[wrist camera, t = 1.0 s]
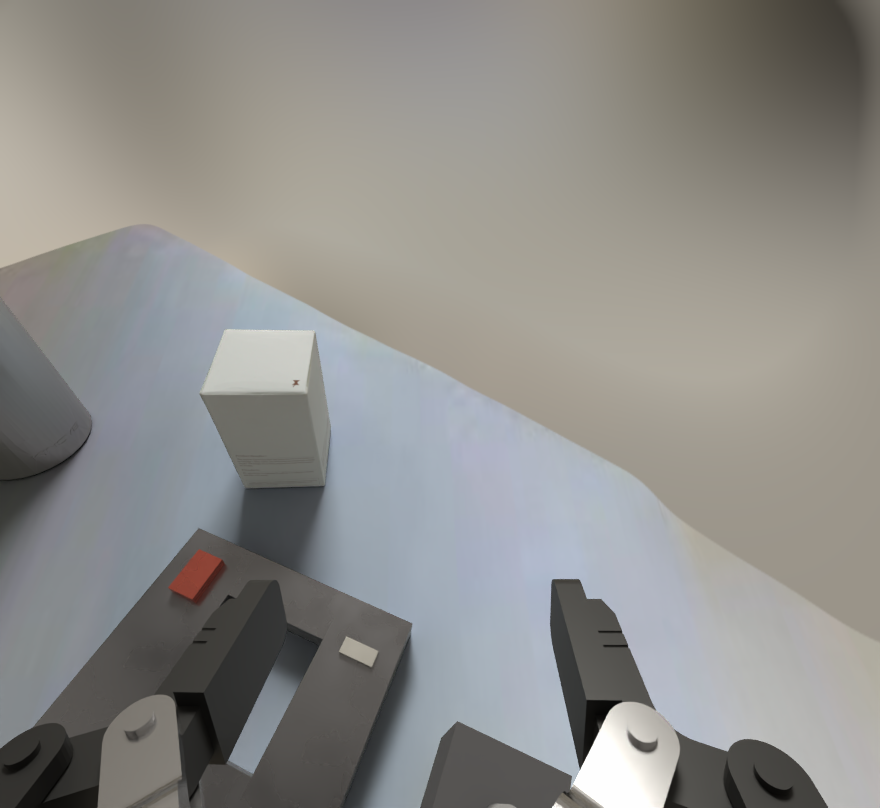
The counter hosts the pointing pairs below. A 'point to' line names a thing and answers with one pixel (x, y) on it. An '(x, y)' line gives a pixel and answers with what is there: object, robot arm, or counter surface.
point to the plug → (489, 775)
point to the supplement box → (270, 406)
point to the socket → (312, 707)
